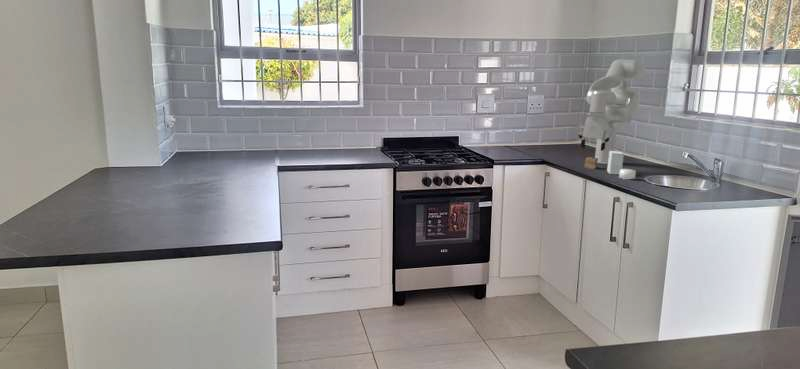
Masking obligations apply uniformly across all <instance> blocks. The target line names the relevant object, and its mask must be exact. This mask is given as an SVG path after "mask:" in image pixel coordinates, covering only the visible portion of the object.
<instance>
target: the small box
mask: <svg viewBox="0 0 800 369" xmlns="http://www.w3.org/2000/svg"><path fill="white" fill-rule="evenodd" d="M624 155H625V153H623V152H622V151H616V150H614V151H609V159H608V164H607V168H606V171H607V173H608V174H609V175H618V176H619V174H620V169H623V165H624V164H623V162H624V158H625V156H624Z"/></svg>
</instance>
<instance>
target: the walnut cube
mask: <svg viewBox="0 0 800 369" xmlns="http://www.w3.org/2000/svg"><path fill="white" fill-rule="evenodd" d="M584 159H585V160H584V168H585V169H590V170H591V169H592V170H595V169H597V168H598V164H599V163H598V158H595V157H590V156H587V157H586V158H584Z"/></svg>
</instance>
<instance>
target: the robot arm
mask: <svg viewBox="0 0 800 369" xmlns="http://www.w3.org/2000/svg"><path fill="white" fill-rule="evenodd" d="M645 74H646V65H645V63H644V62H642V61H640V60H636V59H623V58H619V59H618V58H617V59H616V60H614V61H613V62H612V63H611V65H610V66H609V68H608V71H607V72H606V75H605V76H603V77H601V78H599V79H597V80H596V81H594V82H593V83H592V84H591V85H590V86H589V89H588V91H587V93H586V98H585V99H586V102H587V104H589V105H590V107H589V112H586V113H585V114H586V116H588V117H586V119H585V124H584V126H583V127H584V128H582V129H580V130H577V131H576V132H577V135H578V137H579V139H580V147H581V149H585V146H586V139H587V138H589V139H596V147H595V154H594V158H598V163H597V164H602V165H608V159H609V151H616V149H615V148H616V140H617V135H618V134H617V133H618V131H617V128H616V125H615V124H625V125H626V124H630V123H631V122H632V121H633V118H634V116H635V114H636V111H637V108H638V106H639V103H640V95H639V93H638V92H636V91H633V90H629V89H630V86H629V84H628V82H627V81H626V80H625V78H627V79H628V78H629V79H642V78H643V77H644V76H645ZM608 90H609V91H608ZM582 134H583V135H582Z"/></svg>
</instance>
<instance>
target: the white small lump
mask: <svg viewBox="0 0 800 369" xmlns="http://www.w3.org/2000/svg"><path fill="white" fill-rule="evenodd" d="M636 174H637V172H636V170H635V169H633V168H632V169H631V168H630V169H629V168H622V169H620V174H619V175H618V178H619V179H621V178H622V180H625V179H635V180H636Z"/></svg>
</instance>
